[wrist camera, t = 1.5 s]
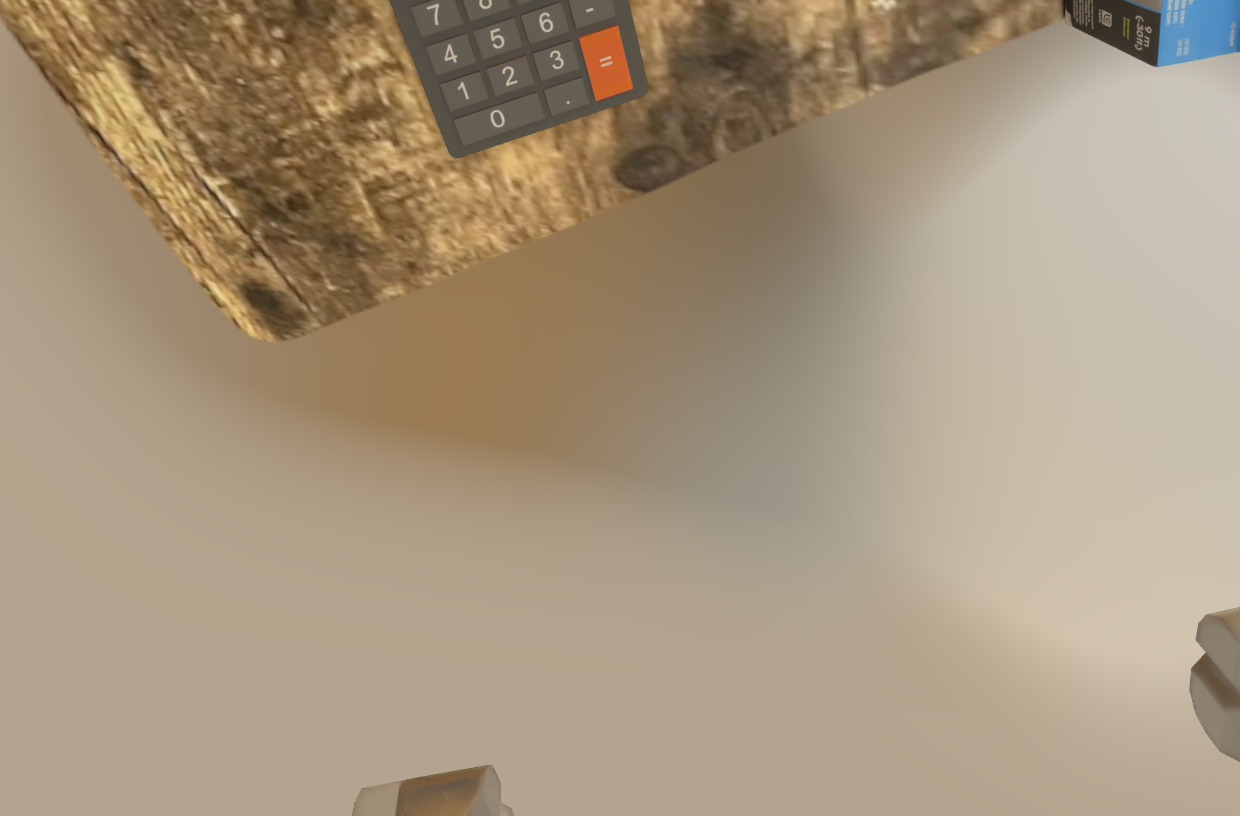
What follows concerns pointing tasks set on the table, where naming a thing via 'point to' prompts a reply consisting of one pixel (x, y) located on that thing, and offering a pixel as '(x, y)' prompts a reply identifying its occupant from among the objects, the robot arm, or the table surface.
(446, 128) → the calculator
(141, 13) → the table surface
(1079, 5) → the label tape box
